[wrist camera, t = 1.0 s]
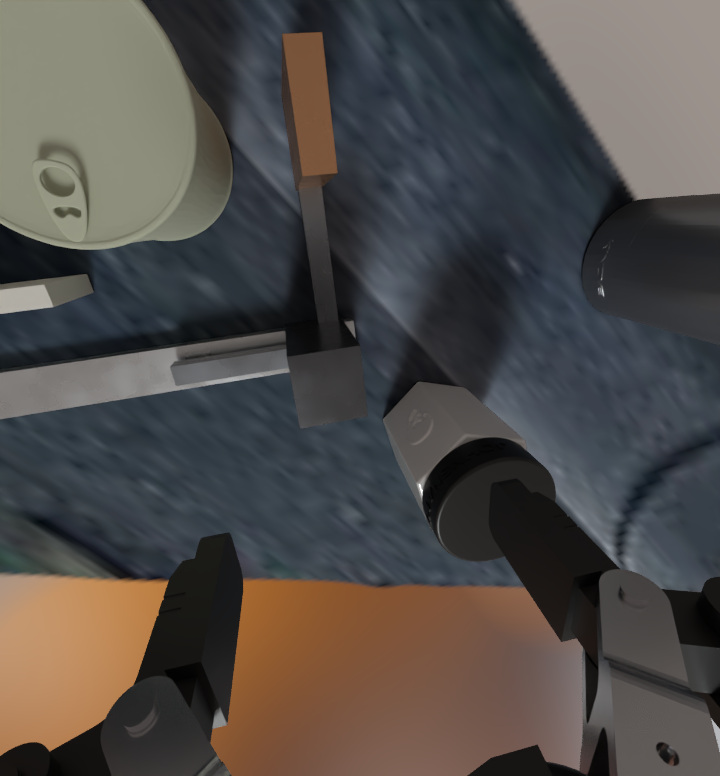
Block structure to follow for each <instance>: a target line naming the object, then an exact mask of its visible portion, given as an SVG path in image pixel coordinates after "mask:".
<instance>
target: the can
mask: <svg viewBox="0 0 720 776" xmlns="http://www.w3.org/2000/svg"><path fill="white" fill-rule="evenodd" d="M232 180H233V164H232V156H231V151H230V147H229V143H228V140H227V138H226V135H225V133H224V130H223V128H222V126H221V124H220V122H219V120H218V119H217V117H216V115H215V114H214V112H213V111H212V109H211V108H210V107H209V106H208V104H207V103H206V102H205V101H204V100H203V98H202V97H201V96H200V95H199V94H198V92H197V91H196V89H195V87H194V86H193V84H192V82H191V81H190V79H189V78H188V76H187V74H186V72H185V71H184V69H183V66H182V64H181V61H180V59H179V57H178V55H177V53H176V51H175V49H174V47H173V45H172V43H171V42H170V40H169V38H168V36H167V35H166V33H165V31H164V30H163V28H162V27H161V25H160V24H159V22H158V21H157V20H156V18H155V17H154V15H153V14H152V13H151V11H150V10H149V9H148V7H147V6H146V5H145V4H144V2H143V1H142V0H0V223H1V224H3V225H4V226H6V227H8V228H10V229H12V230H14V231H16V232H18V233H20V234H23V235H25V236H27V237H30V238H33V239H36V240H38V241H41V242H44V243H48V244H51V245H55V246H60V247H66V248H72V249H83V250H95V249H107V248H114V247H118V246H123V245H126V244H129V243H131V242H139V241H147V240H160V241H175V240H182V239H186V238H189V237H192V236H194V235H197V234H199V233H200V232H202V231H204V230H205V229H207V228H208V227H209V226H210V225H212V224H213V223H214V222H215V220H216V219H217V218H218V217H219V216H220V214H221V213H222V211H223V209H224V208H225V206H226V203H227V201H228V199H229V196H230V192H231V187H232Z"/></svg>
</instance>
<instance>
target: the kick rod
mask: <svg viewBox="0 0 720 776" xmlns="http://www.w3.org/2000/svg"><path fill="white" fill-rule="evenodd" d="M281 96H282V102H283V109H284V116H285V122H286V129H287V135H288V142H289V149H290V155H291V162H292V168H293V175H294V182H295V188H296V191H298V195H299V202H300V209H301V215H302V222H303V229H304V235H305V242H306V249H307V255H308V262H309V269H310V275H311V282H312V289H313V296H314V302H315V309H316V316H317V320H310V321H303V322H296V323H290V324H285V333H286V344H285V345H279V346H272V347H266V348H259V349H252V350H246V351H239V352H233V353H226V354H220V355H213V356H207V357H200V358H194V359H187V360H180V361H174V363H173V364H172V365H171V366H170V369H171V372H172V375H173V378H174V381H175V384H176V386H180V385H186V384H192V383H199V382H205V381H211V380H217V379H223V378H230V377H236V376H242V375H248V374H254V373H261V372H267V371H273V370H279V369H285V368H289V372H290V377H291V382H292V387H293V393H294V398H295V403H296V408H297V414H298V419H299V424H300V428H306V427H311V426H317V425H322V424H328V423H333V422H339V421H344V420H350V419H355V418H360V417H366V416H368V415H367V406H366V396H365V387H364V377H363V368H362V358H361V349H360V345H359V343H358V342H357V340H356V339H355V337H354V336H353V334H352V333H351V331H350V330H349V328H348V327H347V325H346V324H345V322H344V321H343V319H342V318H341V316H338V312H337V304H336V297H335V289H334V281H333V273H332V265H331V257H330V249H329V241H328V233H327V225H326V217H325V210H324V202H323V194H322V187H323V186H324V185H325V184H326V183H327V182H328V181H329V180H330V179H332V178H333V177H334V176H335V175H336V174H337V164H336V155H335V146H334V136H333V127H332V118H331V109H330V100H329V91H328V82H327V73H326V64H325V55H324V45H323V36H322V32H313V33H291V34H282V95H281Z"/></svg>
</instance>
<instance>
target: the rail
mask: <svg viewBox="0 0 720 776" xmlns="http://www.w3.org/2000/svg"><path fill="white" fill-rule="evenodd" d="M343 321H344V322H345V324H346V325H347V327H348V328H349V330H350V331H351V333H352V334H353V336H354V337H355V328H354V320H353V319H352V318H346V319H343ZM355 339H356V337H355ZM285 344H286V333H285V328H278V329H271V330H264V331H258V332H251V333H244V334H237V335H230V336H224V337H217V338H210V339H203V340H196V341H190V342H183V343H176V344H169V345H162V346H156V347H149V348H142V349H135V350H128V351H122V352H115V353H108V354H101V355H94V356H88V357H81V358H74V359H67V360H60V361H54V362H47V363H40V364H33V365H26V366H19V367H13V368H6V369H0V419H4V418H10V417H16V416H22V415H28V414H35V413H41V412H47V411H53V410H59V409H65V408H71V407H78V406H84V405H90V404H96V403H102V402H108V401H114V400H121V399H127V398H133V397H139V396H145V395H151V394H157V393H164V392H170V391H176V390H182V389H188V388H194V387H200V386H207V385H213V384H219V383H225V382H231V381H237V380H244V379H250V378H256V377H262V376H268V375H274V374H280V373H287V372H289V368H285V369H279V370H273V371H267V372H261V373H254V374H248V375H242V376H236V377H230V378H223V379H217V380H211V381H205V382H199V383H192V384H186V385H180V386H176V384H175V381H174V378H173V375H172V372H171V369H170V366H171V365H172V364H173V363H174V361H180V360H187V359H194V358H200V357H207V356H213V355H220V354H226V353H233V352H239V351H246V350H252V349H259V348H266V347H272V346H279V345H285Z"/></svg>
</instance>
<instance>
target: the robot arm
mask: <svg viewBox="0 0 720 776" xmlns="http://www.w3.org/2000/svg"><path fill="white" fill-rule="evenodd" d="M582 282H583V288H584V292H585V294H586V297H587V299H588V300H589V302H590V303H591V304H592V306H593V307H595V308H596V309H597V310H599V311H600V312H603V313H606V314H608V315H612V316H616V317H620V318H623V319H627V320H631V321H634V322H638V323H641V324H645V325H648V326H652V327H656V328H659V329H663V330H667V331H670V332H674V333H678V334H681V335H685V336H689V337H692V338H696V339H700V340H704V341H707V342H711V343H715V344H718V345H720V194H710V195H691V196H679V197H666V198H653V199H642V200H637V201H634V202H631V203H628V204H626V205H624V206H623V207H621V208H620V209H618V210H616V211H615V212H614V213H613V214H612V215H611V216H609V217H608V218H607V219H606V220H605V221H604V223H603V224H602V225H601V226H600V228H599V229H598V230H597V232H596V233H595V235H594V237H593V238H592V240H591V242H590V244H589V247H588V249H587V252H586V254H585V258H584V263H583V267H582ZM489 527H490V531H491V534H492V537H493V539H494V540H495V542H496V544H497V545H498V547H499V548H500V550H501V551H502V553H503V554H504V556H505V557H506V559H507V560H508V562H509V563H510V565H511V566H512V568H513V569H514V571H515V572H516V574H517V575H518V577H519V578H520V580H521V582H522V583H523V585H524V586H525V588H526V589H527V591H528V592H529V593H530V595H531V597H532V598H533V600H534V601H535V603H536V604H537V606H538V607H539V609H540V610H541V612H542V613H543V615H544V616H545V618H546V619H547V621H548V622H549V624H550V625H551V627H552V628H553V630H554V631H555V633H556V635H557V636H558V637H559V639H560V640H561V642H563V641H567V640H571V639H575V638H577V639H578V641H579V642H580V644H581V645H582V646H583V652H582V698H583V699H582V702H583V704H582V707H583V735H582V746H581V755H580V770H579V771H578V770H575V769H572V768H570V767H567V766H564V765H560V764H556V763H550V762H546V761H545V759H544V757H543V755H542V753H541V751H540V749H539V747H538V745H535V746H531V747H528V748H524V749H521V750H517V751H514V752H510V753H507V754H503V755H500V756H496V757H493V758H490V759H489V760H488V761H486V762H485V763H484V764H483V765H481V766H480V767H478V768H477V769H476V770H474V771H473V772H472V773H471V774H469V775H468V776H720V752H719V748H718V744H717V741H716V736H715V733H714V729H713V725H712V721H711V718H712V719H713V721H714V722H715V723H716V725H717V726H718V727H719V728H720V577H714V578H710V579H709V580H707V581H706V582H705V584H704V586H703V589H702V591H701V592H688V591H676V590H665V589H660V588H659V587H658V586H657V585H656V584H655V583H654V582H652V581H651V580H649V579H648V578H646V577H644V576H642V575H640V574H637V573H635V572H632V571H628V570H621V569H620V568H619V567H617V565H616V564H615V563H614V562H613V561H612V560H611V559H610V558H609V557H608V556H607V555H606V554H605V553H604V552H603V551H602V550H601V549H600V548H599V547H598V546H597V545H596V544H595V543H594V542H593V541H592V540H591V539H590V538H589V537H588V536H587V535H586V534H585V532H584V531H583V530H582V529H581V528H580V527H577V524H576V523H575V522H574V521H573V520H572V519H571V518H570V517H567V514H566V513H565V512H564V511H563V510H562V509H561V508H560V507H559V506H558V505H557V504H556V503H555V502H554V501H553V500H551V499H549V498H548V497H546V496H544V495H542V494H541V493H539V492H533V493H531V492H530V491H529V490H528V489H527V488H526V486H525V485H524V484H523V483H522V482H521V481H520V480H519V479H516V478H514V479H509V480H504V481H499V482H494V483H492V485H491V489H490V505H489ZM242 596H243V577H242V571H241V567H240V564H239V560H238V557H237V554H236V550H235V547H234V544H233V540H232V537H231V535H230V533H224V534H218V535H213V536H208V537H203V538H201V540H200V542H199V545H198V549H197V553H196V556H195V559H190V560H185V561H182V563H181V564H180V565H179V567H178V568H177V569H176V571H175V572H174V573H173V575H172V576H171V577H170V579H169V582H168V585H167V588H166V591H165V595H164V600H163V601H162V603H161V606H160V609H159V616H157V618H156V621H155V624H154V628H153V630H152V634H151V636H150V640H149V642H148V645H147V648H146V652H145V655H144V658H143V661H142V664H141V667H140V670H139V673H138V676H137V678H136V681H135V683H134V685H133V686H132V687H131V688H129V689H128V690H127V691H126V692H125V693H124V694H122V696H121V697H120V698H119V699H118V700H117V701H116V702H115V704H114V705H113V707H112V708H111V709H110V711H109V713H108V714H107V717H106V719H104V720H103V721H102V722H101V723H99V724H98V725H96V726H94V727H93V728H91V729H89V730H87V731H86V732H84V733H82V734H80V735H79V736H77V737H75V738H73V739H71V740H70V741H68V742H66V743H64V744H62V745H61V746H59V747H57V748H55V749H54V750H52V751H50V752H49V750H48V749H47V748H46V747H45V746H44V745H42V744H40V743H37V742H36V743H35V742H34V743H26V744H22V745H20V746H17V747H15V748H13V749H11V750H9V751H7V752H6V753H4V754H3V755H1V756H0V776H231V774H230V772H229V771H228V769H227V768H226V766H225V764H224V763H223V762H221V760H220V759H219V758H218V756H217V754H216V752H215V751H214V749H213V747H212V746H211V744H210V741H211V734H212V729H213V728H217V727H221V726H225V725H227V722H228V714H229V705H230V697H231V689H232V680H233V671H234V663H235V654H236V647H237V638H238V630H239V621H240V613H241V605H242Z"/></svg>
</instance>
